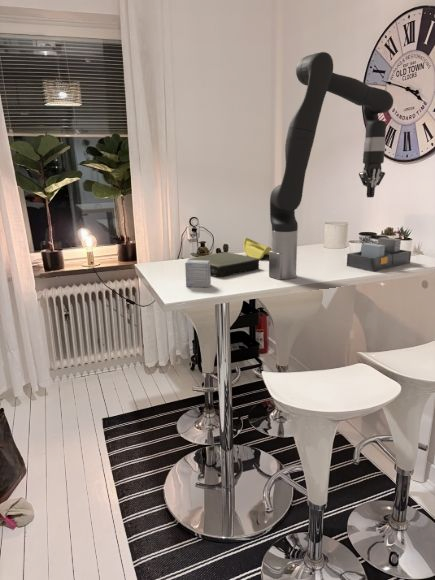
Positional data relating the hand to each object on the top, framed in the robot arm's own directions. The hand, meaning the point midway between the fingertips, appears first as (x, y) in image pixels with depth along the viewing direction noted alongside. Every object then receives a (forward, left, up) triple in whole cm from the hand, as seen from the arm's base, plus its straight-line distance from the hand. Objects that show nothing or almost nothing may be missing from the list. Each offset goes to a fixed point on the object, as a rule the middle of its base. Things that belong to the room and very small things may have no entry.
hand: (370, 197), depth 165 cm
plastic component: (-20, +43, -28) cm, 55 cm away
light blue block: (0, -3, -26) cm, 26 cm away
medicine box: (-70, +15, -28) cm, 77 cm away
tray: (+6, -2, -27) cm, 28 cm away
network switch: (-49, +31, -28) cm, 64 cm away
